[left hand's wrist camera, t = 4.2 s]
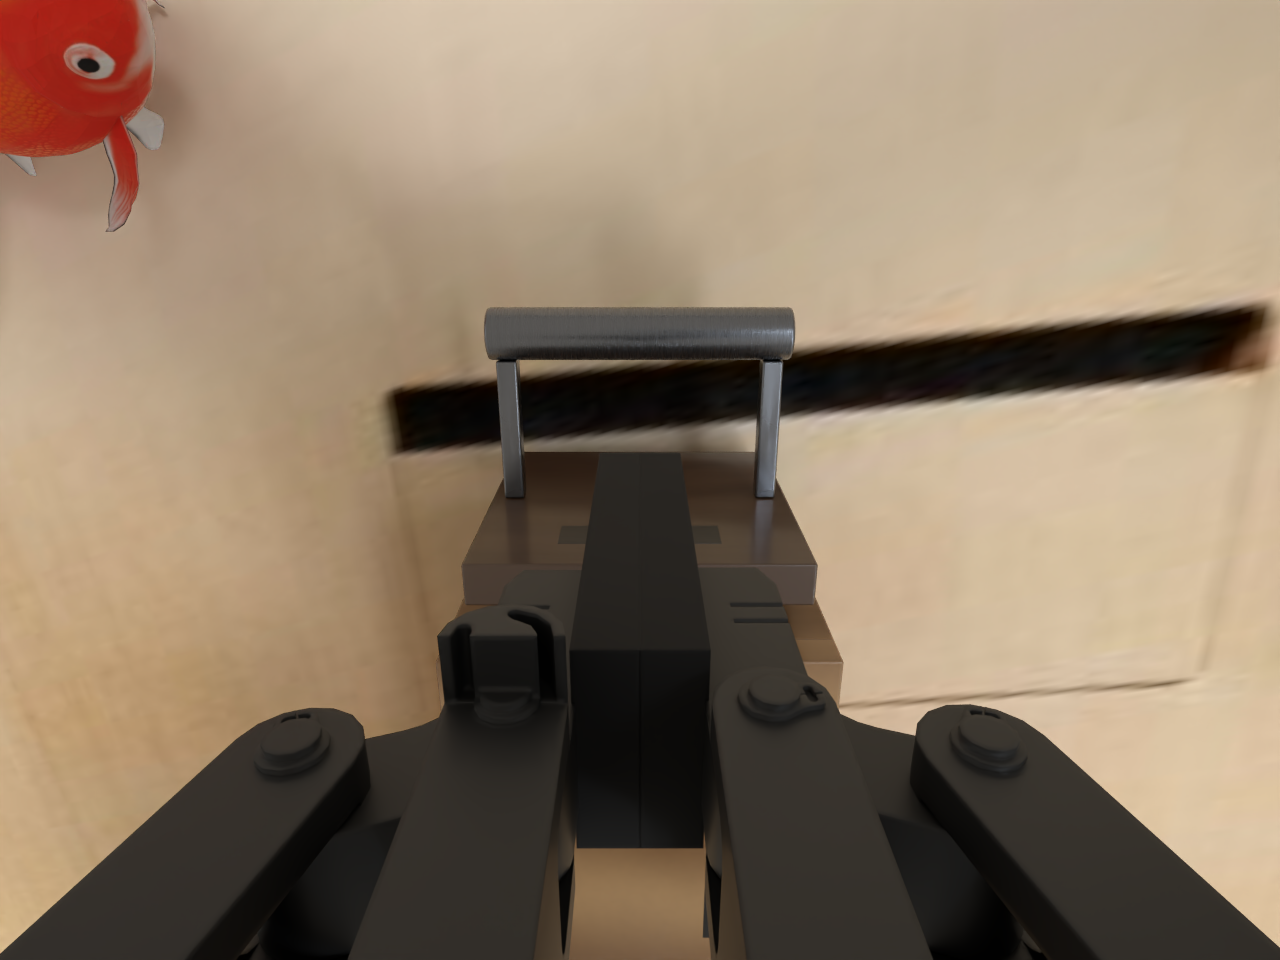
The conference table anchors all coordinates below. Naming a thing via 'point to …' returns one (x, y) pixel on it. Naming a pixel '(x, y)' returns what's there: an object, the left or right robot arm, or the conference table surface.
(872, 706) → the conference table surface
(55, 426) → the conference table surface
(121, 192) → the fish
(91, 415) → the conference table surface
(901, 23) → the conference table surface
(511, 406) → the drawer
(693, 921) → the cabinet
